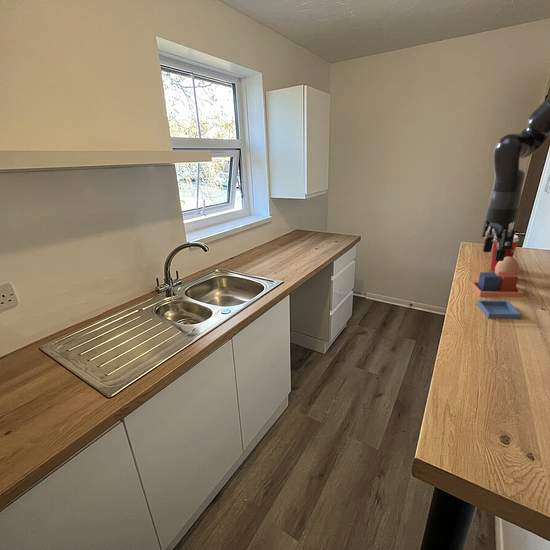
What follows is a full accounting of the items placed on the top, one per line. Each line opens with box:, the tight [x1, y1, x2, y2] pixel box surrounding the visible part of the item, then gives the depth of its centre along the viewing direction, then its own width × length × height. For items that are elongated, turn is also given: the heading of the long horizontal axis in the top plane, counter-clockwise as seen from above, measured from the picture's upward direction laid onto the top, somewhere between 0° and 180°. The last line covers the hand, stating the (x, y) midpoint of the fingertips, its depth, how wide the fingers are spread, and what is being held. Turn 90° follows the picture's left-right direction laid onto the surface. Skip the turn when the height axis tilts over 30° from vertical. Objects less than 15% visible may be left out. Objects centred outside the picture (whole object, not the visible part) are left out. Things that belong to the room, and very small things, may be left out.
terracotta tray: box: [470, 281, 524, 298], centre depth 101 cm, size 12×8×2 cm
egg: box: [494, 256, 520, 276], centre depth 107 cm, size 7×7×9 cm
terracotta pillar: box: [496, 272, 519, 292], centre depth 99 cm, size 4×4×6 cm
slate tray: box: [476, 299, 523, 320], centre depth 89 cm, size 8×8×2 cm
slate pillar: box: [477, 271, 499, 292], centre depth 101 cm, size 4×4×6 cm
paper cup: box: [490, 234, 520, 272], centre depth 114 cm, size 8×8×14 cm
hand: (492, 256), depth 97 cm, fingers open, 8 cm apart
